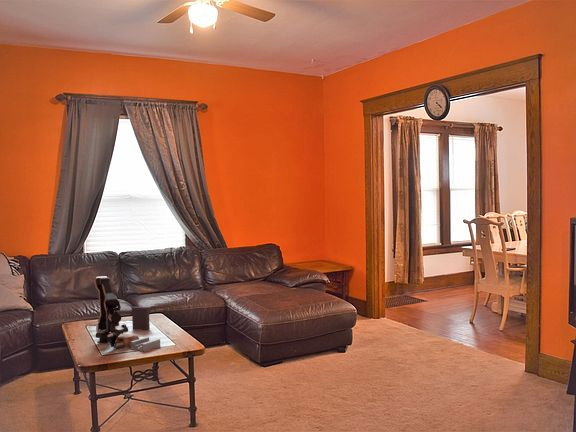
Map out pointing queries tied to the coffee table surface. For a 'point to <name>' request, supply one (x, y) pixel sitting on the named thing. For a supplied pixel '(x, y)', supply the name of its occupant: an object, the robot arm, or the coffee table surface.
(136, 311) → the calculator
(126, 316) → the coffee table surface
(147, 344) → the v block
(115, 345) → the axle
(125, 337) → the orange brown notched block
